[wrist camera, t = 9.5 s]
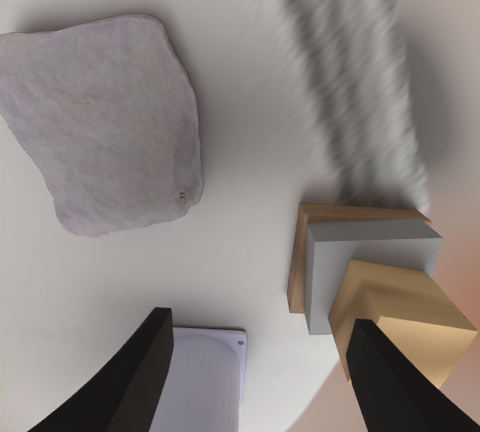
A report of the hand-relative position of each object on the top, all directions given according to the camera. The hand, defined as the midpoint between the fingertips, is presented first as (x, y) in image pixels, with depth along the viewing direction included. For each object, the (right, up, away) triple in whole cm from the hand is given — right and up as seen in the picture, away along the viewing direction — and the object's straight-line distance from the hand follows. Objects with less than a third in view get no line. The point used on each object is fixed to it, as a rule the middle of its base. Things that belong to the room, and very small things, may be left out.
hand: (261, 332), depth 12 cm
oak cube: (+7, 0, +6) cm, 10 cm away
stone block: (-8, +10, +8) cm, 15 cm away
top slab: (+7, +1, +9) cm, 11 cm away
